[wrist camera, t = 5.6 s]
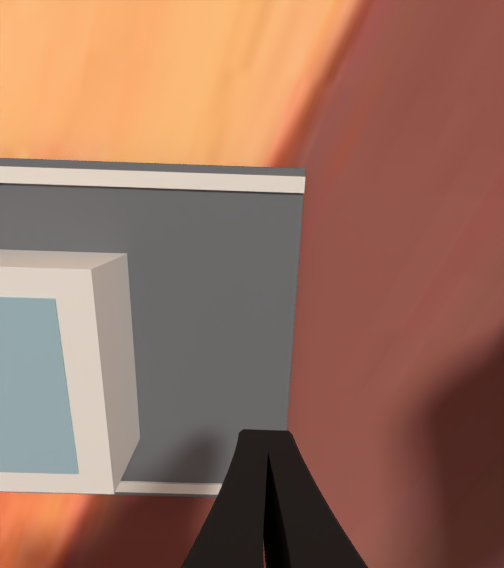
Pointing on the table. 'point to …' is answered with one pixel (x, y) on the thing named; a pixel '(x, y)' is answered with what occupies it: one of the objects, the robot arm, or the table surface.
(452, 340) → the table surface
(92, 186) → the mat
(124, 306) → the white rectangular block
